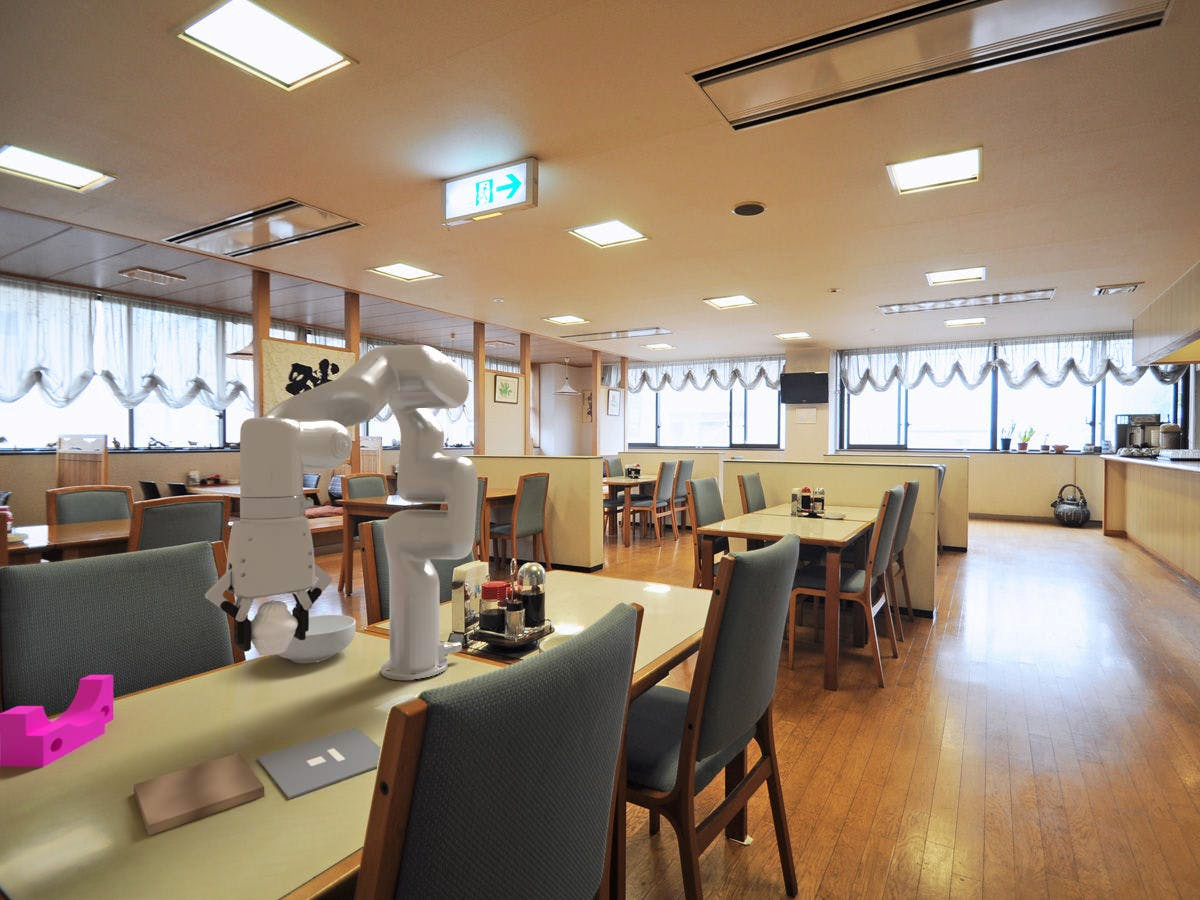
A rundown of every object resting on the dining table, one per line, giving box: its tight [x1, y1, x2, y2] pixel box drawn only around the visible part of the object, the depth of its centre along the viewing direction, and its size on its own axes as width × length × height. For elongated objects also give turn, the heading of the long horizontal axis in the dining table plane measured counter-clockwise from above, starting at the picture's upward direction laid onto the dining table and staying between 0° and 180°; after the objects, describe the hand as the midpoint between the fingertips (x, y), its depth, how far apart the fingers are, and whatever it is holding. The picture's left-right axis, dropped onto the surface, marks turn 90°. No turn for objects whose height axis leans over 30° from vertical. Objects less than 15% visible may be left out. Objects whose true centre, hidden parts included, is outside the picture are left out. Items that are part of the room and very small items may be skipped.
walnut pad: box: [133, 752, 265, 836], centre depth 80 cm, size 12×12×1 cm
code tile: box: [256, 727, 382, 800], centre depth 89 cm, size 14×14×1 cm
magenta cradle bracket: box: [0, 674, 115, 768], centre depth 95 cm, size 15×6×8 cm, turn 178°
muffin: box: [250, 599, 298, 656], centre depth 85 cm, size 6×6×7 cm
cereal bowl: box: [276, 614, 357, 664], centre depth 133 cm, size 17×17×7 cm
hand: (272, 642), depth 85 cm, fingers closed on muffin, 6 cm apart
